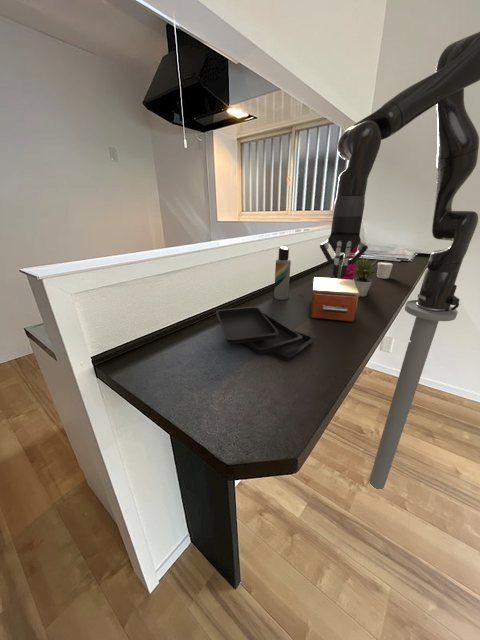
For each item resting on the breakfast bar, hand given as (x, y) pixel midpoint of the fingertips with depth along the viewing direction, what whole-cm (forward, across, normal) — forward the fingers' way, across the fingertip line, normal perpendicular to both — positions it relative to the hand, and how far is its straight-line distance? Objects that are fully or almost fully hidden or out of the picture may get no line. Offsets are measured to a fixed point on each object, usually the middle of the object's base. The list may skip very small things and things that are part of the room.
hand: (338, 277), depth 78 cm
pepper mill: (+15, +9, +56) cm, 59 cm away
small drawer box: (+15, 0, +11) cm, 18 cm away
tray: (+15, -21, -17) cm, 31 cm away
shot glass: (+15, +27, +66) cm, 73 cm away
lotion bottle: (+15, -19, +21) cm, 32 cm away
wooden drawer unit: (+14, 0, +6) cm, 15 cm away
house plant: (+15, +11, +34) cm, 39 cm away
